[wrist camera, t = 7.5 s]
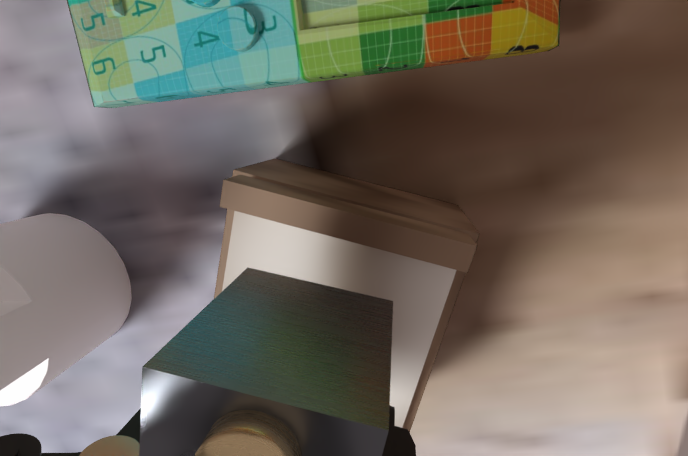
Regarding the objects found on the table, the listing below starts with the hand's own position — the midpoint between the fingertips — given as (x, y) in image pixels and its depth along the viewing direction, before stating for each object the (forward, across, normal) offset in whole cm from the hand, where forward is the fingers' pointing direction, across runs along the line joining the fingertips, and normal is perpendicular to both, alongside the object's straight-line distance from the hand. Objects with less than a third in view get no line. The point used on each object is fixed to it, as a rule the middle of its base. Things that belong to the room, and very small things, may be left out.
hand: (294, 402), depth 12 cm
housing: (+1, 0, 0) cm, 1 cm away
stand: (+10, 0, 0) cm, 10 cm away
